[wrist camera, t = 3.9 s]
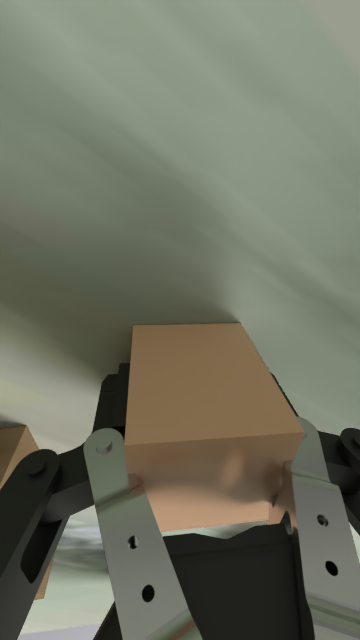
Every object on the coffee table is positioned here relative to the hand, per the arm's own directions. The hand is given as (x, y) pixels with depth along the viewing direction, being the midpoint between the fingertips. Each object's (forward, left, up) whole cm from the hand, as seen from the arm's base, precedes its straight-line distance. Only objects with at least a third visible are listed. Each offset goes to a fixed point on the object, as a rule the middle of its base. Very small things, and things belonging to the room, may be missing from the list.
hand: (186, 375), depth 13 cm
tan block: (0, 0, -1) cm, 1 cm away
